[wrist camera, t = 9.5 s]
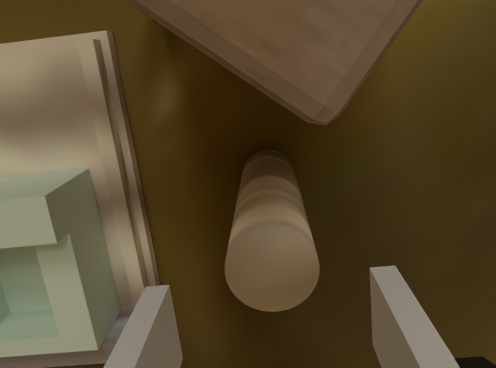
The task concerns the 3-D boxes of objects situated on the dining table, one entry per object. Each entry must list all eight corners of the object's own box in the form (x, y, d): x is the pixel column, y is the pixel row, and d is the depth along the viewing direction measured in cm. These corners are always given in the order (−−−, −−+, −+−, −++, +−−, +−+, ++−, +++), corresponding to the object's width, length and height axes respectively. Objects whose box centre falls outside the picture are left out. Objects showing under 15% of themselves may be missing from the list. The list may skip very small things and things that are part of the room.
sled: (-52, 183, 29) (-128, 213, 24) (88, 168, 29) (44, 195, 23) (-7, 320, 32) (-66, 377, 27) (120, 310, 32) (88, 366, 26)
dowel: (239, 152, 29) (218, 230, 16) (291, 146, 29) (315, 221, 16) (245, 201, 30) (230, 315, 17) (296, 196, 30) (322, 307, 17)
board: (-122, 61, 28) (-201, 61, 24) (111, 31, 27) (79, 25, 22) (-30, 332, 34) (-77, 376, 29) (166, 316, 33) (150, 359, 28)
